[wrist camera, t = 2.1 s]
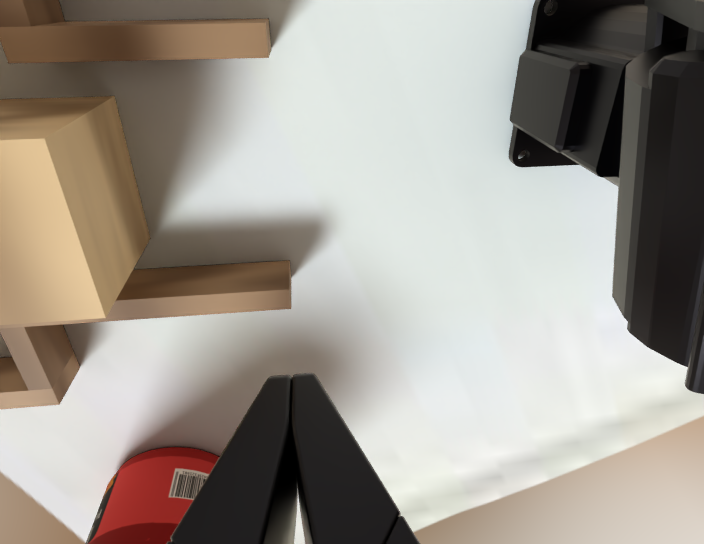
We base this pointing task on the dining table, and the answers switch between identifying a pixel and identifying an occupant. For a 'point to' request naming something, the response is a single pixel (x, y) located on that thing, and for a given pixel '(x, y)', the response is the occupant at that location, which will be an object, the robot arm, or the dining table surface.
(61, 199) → the block
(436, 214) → the dining table surface
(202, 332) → the dining table surface
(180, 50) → the channel
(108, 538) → the canned food
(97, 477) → the dining table surface
